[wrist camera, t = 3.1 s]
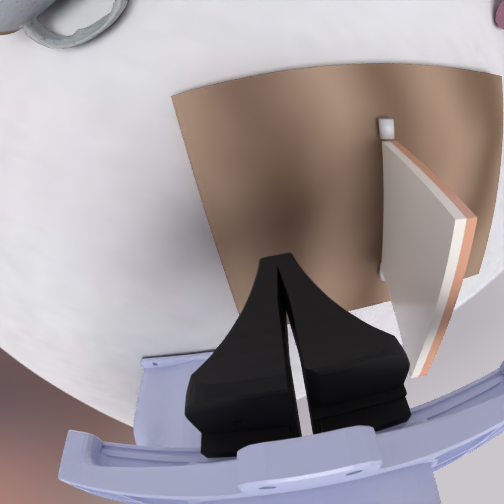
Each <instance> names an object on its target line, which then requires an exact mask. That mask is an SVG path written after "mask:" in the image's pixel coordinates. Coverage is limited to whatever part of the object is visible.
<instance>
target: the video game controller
mask: <svg viewBox="0 0 504 504" xmlns="http://www.w3.org/2000/svg"><path fill="white" fill-rule="evenodd" d="M495 22H496V23H497V25H498V26H499V27H500V28H502V29H504V0H503V1H502V2H501V3H500V5H499V7H498V9H497V12H496V16H495Z"/></svg>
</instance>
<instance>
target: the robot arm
mask: <svg viewBox="0 0 504 504" xmlns="http://www.w3.org/2000/svg"><path fill="white" fill-rule="evenodd" d="M286 312H287V315H288V319H289V322H290V325H291V329H292V332H293V336H294V339H295V342H296V346H297V349H298V353H299V357H300V361H301V367H302V372H303V378H304V384H305V389H306V395H307V401H308V406H309V412H310V418H311V425H312V431H313V435H309V436H304V437H302V434H301V428H300V421H299V415H298V409H297V403H296V396H295V390H294V384H293V378H292V371H291V365H290V357H289V344H288V329H287V315H286ZM141 365H142V366H143V368H144V372H143V376H142V381H141V386H140V391H139V396H138V401H137V406H136V411H135V417H134V436H135V441H136V444H137V445H127V444H118V443H110V442H102V440H100V439H99V438H98V437H96V436H95V435H92V434H90V433H86V432H80V431H74V430H69V431H68V435H67V439H66V443H65V448H64V451H63V456H62V460H61V465H60V469H59V474H58V478H59V480H61V481H63V482H66V483H68V484H70V485H72V486H74V487H77V488H79V489H81V490H84V491H86V492H89V493H91V494H94V495H97V496H100V497H105V498H108V499H112V500H117V501H121V502H126V503H130V504H441V501H440V497H439V493H438V489H437V485H436V482H435V478H434V474H433V471H435V470H438V469H440V468H441V467H443V466H446V465H448V464H450V463H451V462H453V461H455V460H457V459H459V458H461V457H463V456H465V455H466V454H468V453H470V452H472V451H473V450H475V449H477V448H479V447H480V446H482V445H483V444H485V443H487V442H488V441H490V440H491V439H493V438H495V437H496V436H498V435H499V434H501V433H502V432H504V361H503V362H502V364H501V366H500V368H498V369H497V370H495V371H493V372H491V373H489V374H487V375H486V376H484V377H482V378H480V379H478V380H476V381H474V382H472V383H470V384H468V385H466V386H464V387H462V388H460V389H457V390H455V391H453V392H451V393H449V394H446V395H444V396H442V397H439V398H437V399H434V400H432V401H430V402H427V403H424V404H422V405H419V406H417V407H414V408H411V409H410V408H409V406H408V403H407V400H406V398H405V396H406V394H407V392H406V389H405V387H404V381H405V379H406V376H407V374H408V371H409V368H410V362H409V359H408V357H407V354H406V352H405V351H404V349H403V348H402V346H401V344H400V343H399V342H398V340H397V339H396V337H395V336H393V335H391V334H389V333H386V332H384V331H382V330H379V329H377V328H375V327H373V326H371V325H369V324H367V323H365V322H363V321H362V320H360V319H359V318H357V317H356V316H354V315H352V314H351V313H349V312H348V311H346V310H345V309H343V308H342V307H341V306H339V305H338V304H337V303H336V302H334V301H333V300H332V299H331V298H330V297H328V296H327V295H326V294H325V293H324V292H323V291H322V290H321V289H320V288H319V287H318V286H317V285H316V284H315V283H314V282H313V281H312V280H311V279H310V278H309V276H308V275H307V274H306V273H305V272H304V271H303V269H302V268H301V267H300V265H299V264H298V263H297V261H296V260H295V258H294V256H293V254H292V253H290V252H289V253H284V254H279V255H274V256H269V257H264V258H261V259H260V260H259V265H258V270H257V274H256V277H255V280H254V283H253V286H252V289H251V292H250V294H249V296H248V299H247V301H246V303H245V305H244V308H243V310H242V311H241V313H240V315H239V317H238V319H237V320H236V322H235V324H234V325H233V327H232V328H231V330H230V332H229V333H228V335H227V336H226V337H225V339H224V340H223V341H222V343H221V344H220V345H219V346H218V347H217V349H216V350H215V351H214V352H206V353H198V354H189V355H180V356H169V357H158V358H145V359H142V360H141Z"/></svg>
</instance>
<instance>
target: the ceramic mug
mask: <svg viewBox="0 0 504 504" xmlns="http://www.w3.org/2000/svg"><path fill="white" fill-rule="evenodd" d="M54 1H55V0H0V35H7V34H11V33H14V32H16V31H18V30H20V29H21V28H23V29H24V30H25V32H26V33H27V34H28V35H29V37H30V38H31V39H33V40H34V41H36V42H37V43H38V44H41V45H43V46H46V47H49V48H69V47H74V46H78V45H80V44H83V43H85V42H87V41H88V40H90V39H92V38H94V37H96V36H97V35H99V34H100V33H101V32H103V31H104V30H105V29H107V28H108V27H109V26H110V25H111V24H112V23H114V22H115V21H116V19H117V18H118V17H119V16H120V14H121V13H122V12H123V10H124V8H125V7H126V5H127V2H128V0H115V2H114V3H113V8H112V11H111V13H109V14H108V15H106V16H105V17H103V18H102V19H100V20H99V21H97V22H95V23H94V24H92V25H90V26H88V27H86V28H84V29H78V30H77V31H76V32H75V33H74V34H73V35H72V36H68V37H67V36H59V35H56V34H55V33H53V32H50V31H49V30H48V29H47V28H45V27H44V26H43V25H42V24H41V23H40V22H39V21H38V16H39V15H40V14H42V13H43V12H44V11H45V10H46V9H47V8H48V7H49V6H50V5H51V4H52V3H53V2H54Z"/></svg>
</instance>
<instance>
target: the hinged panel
mask: <svg viewBox="0 0 504 504" xmlns="http://www.w3.org/2000/svg"><path fill="white" fill-rule="evenodd" d="M378 121H379V133H380V138H381V139H394V138H395V133H394V119H393V118H386V117H384V118H378ZM382 154H383V184H384V213H383V244H382V261H381V264H380V270H379V279H380V280H381V281H385V282H386V285H387V288H388V291H389V295H390V298H391V301H392V305H393V308H394V312H395V315H396V319H397V323H398V326H399V330H400V334H401V338H402V342H403V346H404V350H405V352H406V354H407V357H408V359H409V362H410V368H409V373H410V378H414V377H420V376H425V375H427V373H428V371H429V368H430V366H431V364H432V362H433V360H434V357H435V355H436V353H437V351H438V348H439V346H440V343H441V341H442V339H443V336H444V333H445V331H446V329H447V326H448V323H449V320H450V318H451V315H452V312H453V309H454V307H455V304H456V301H457V298H458V294H459V291H460V288H461V285H462V281H463V278H464V274H465V271H466V267H467V263H468V259H469V255H470V251H471V247H472V243H473V238H474V233H475V228H476V223H477V217H476V216H475V214H474V213H473V212H472V211H471V210H470V209H469V208H468V207H467V206H466V205H465V204H464V202H463V201H462V200H461V199H460V198H459V197H458V196H457V195H456V194H455V193H454V192H453V191H452V190H451V189H450V188H449V187H448V186H447V185H446V184H445V183H444V182H443V181H442V180H441V179H440V178H439V177H437V176H436V175H435V174H434V173H433V172H432V171H431V170H430V169H429V168H428V167H427V166H426V165H424V164H423V163H422V162H421V161H420V160H419V159H418V158H417V157H415V156H414V155H413V154H412V153H411V152H410V151H408V150H407V149H406V148H405V147H404V146H402V145H401V144H400V143H399V142H397V141H382Z"/></svg>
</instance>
